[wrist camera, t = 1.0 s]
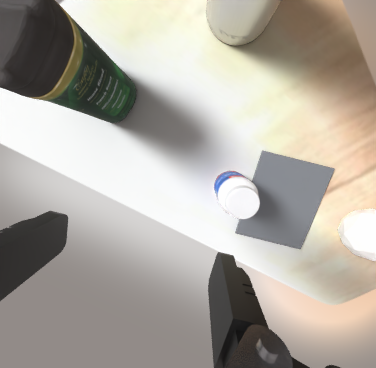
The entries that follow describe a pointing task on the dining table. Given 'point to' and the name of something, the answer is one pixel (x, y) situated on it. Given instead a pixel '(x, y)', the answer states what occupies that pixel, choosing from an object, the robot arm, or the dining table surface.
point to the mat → (285, 199)
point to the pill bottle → (237, 195)
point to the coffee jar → (59, 61)
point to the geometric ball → (359, 232)
